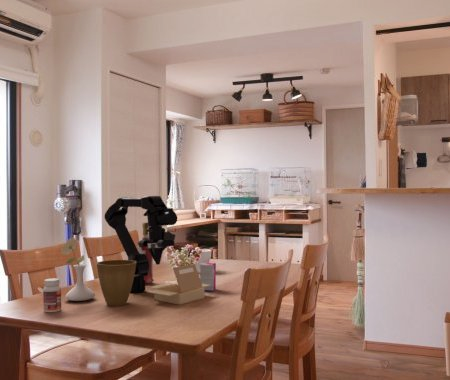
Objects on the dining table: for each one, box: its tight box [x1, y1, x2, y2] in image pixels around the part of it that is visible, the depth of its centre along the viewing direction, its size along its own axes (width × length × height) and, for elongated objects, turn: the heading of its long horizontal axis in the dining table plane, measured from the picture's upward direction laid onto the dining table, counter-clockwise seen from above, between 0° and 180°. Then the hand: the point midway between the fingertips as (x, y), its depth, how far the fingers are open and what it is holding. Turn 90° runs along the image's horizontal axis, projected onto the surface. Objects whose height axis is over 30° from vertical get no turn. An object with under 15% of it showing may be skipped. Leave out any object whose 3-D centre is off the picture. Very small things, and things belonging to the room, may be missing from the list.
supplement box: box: [199, 262, 217, 292], centre depth 219 cm, size 6×6×12 cm
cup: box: [195, 248, 212, 274], centre depth 266 cm, size 12×12×11 cm
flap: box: [172, 263, 202, 292], centre depth 200 cm, size 1×12×10 cm, turn 142°
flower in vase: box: [60, 237, 96, 302], centre depth 203 cm, size 13×11×25 cm
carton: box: [146, 281, 211, 306], centre depth 204 cm, size 19×24×4 cm
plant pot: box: [96, 259, 136, 307], centre depth 196 cm, size 15×15×16 cm
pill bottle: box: [42, 277, 62, 313], centre depth 186 cm, size 6×6×11 cm
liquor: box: [137, 221, 154, 285], centre depth 236 cm, size 7×7×28 cm
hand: (158, 264), depth 210 cm, fingers closed
